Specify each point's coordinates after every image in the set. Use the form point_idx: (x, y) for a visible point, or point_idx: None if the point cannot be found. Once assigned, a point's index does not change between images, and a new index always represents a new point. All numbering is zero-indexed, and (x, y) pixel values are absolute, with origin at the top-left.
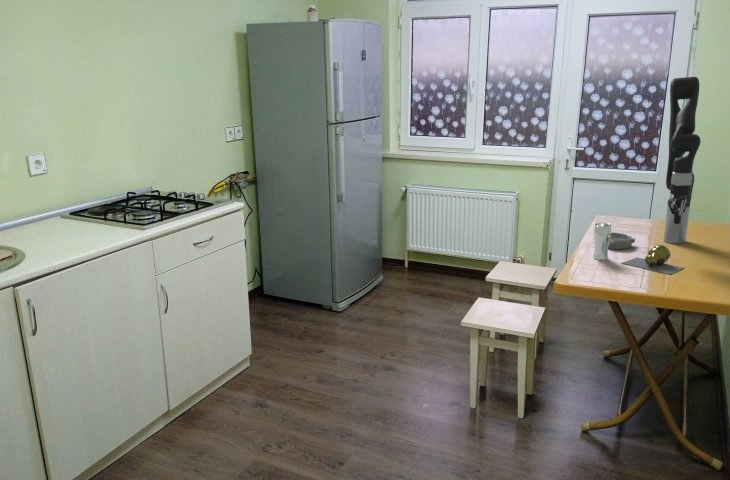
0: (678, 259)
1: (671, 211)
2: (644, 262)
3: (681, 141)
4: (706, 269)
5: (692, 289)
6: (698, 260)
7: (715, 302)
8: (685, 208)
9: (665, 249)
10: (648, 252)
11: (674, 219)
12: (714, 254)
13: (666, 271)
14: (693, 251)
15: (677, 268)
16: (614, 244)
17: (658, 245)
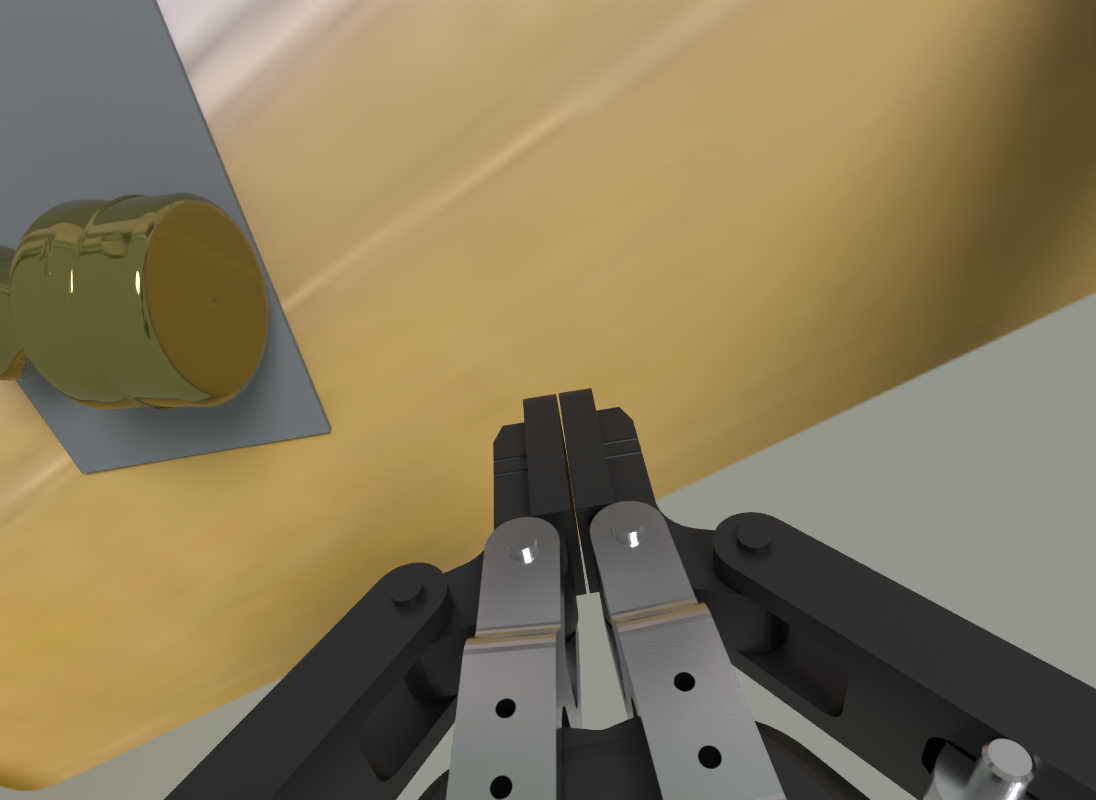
0: (527, 246)
1: (314, 661)
2: (75, 148)
3: None
4: (465, 502)
5: (33, 664)
6: (643, 352)
7: (18, 774)
8: (832, 684)
9: (156, 403)
10: (25, 233)
11: (494, 474)
12: (930, 313)
13: (103, 425)
14: (923, 148)
15: (260, 418)
16: None
17: (116, 329)
